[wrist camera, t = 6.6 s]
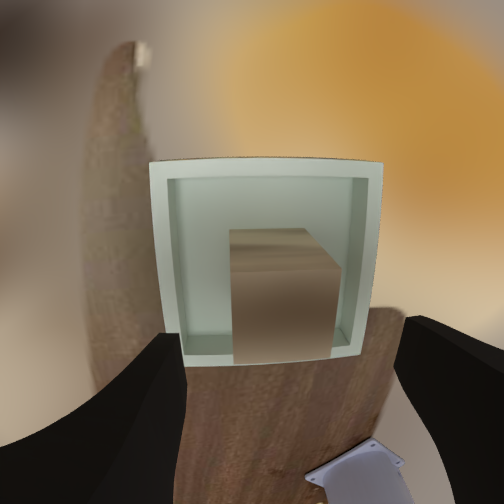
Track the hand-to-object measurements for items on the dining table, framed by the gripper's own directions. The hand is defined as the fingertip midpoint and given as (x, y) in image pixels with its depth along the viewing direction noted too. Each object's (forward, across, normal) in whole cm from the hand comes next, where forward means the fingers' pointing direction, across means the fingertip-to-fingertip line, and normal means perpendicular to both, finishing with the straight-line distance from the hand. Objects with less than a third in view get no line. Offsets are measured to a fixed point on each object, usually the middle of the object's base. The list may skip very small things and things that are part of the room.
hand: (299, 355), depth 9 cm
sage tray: (+9, 0, 0) cm, 9 cm away
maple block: (+8, 0, 0) cm, 9 cm away
